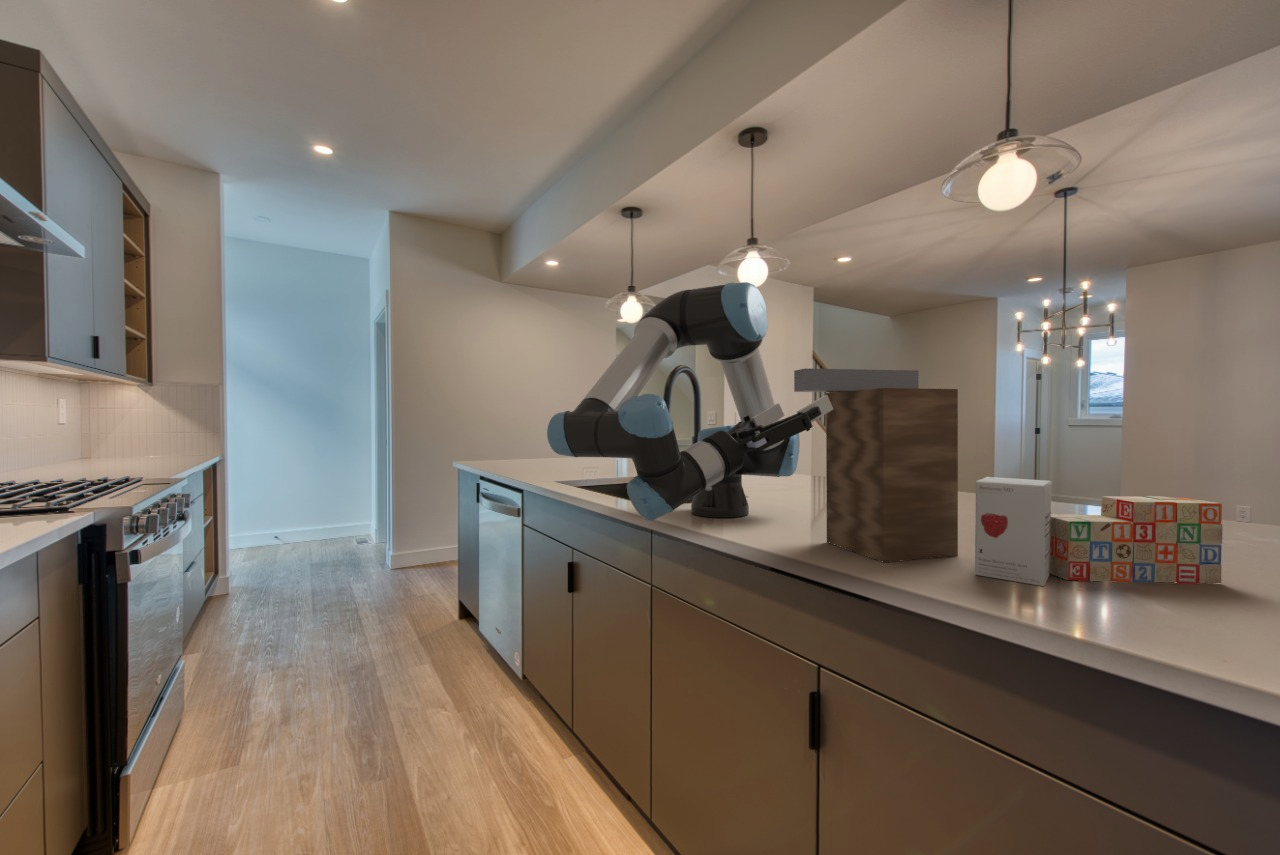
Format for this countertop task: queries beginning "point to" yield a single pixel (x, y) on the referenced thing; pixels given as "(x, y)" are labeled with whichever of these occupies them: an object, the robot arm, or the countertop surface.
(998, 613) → the countertop surface
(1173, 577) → the stack of blocks
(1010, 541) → the supplement box
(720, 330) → the robot arm
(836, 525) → the brown wooden tall block
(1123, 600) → the countertop surface
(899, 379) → the gray block
